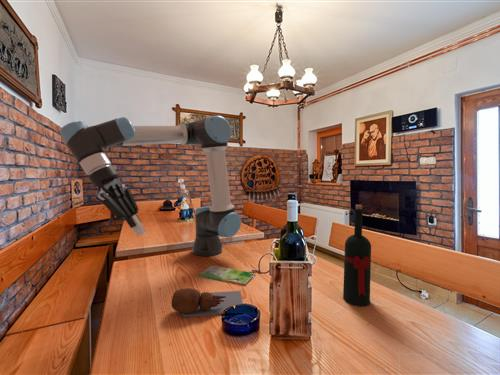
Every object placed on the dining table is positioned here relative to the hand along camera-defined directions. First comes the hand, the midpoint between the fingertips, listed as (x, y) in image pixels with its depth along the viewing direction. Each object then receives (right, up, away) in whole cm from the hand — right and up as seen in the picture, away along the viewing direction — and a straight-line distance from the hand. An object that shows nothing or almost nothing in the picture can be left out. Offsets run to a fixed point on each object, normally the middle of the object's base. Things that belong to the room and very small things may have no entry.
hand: (142, 233), depth 78 cm
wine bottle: (+68, -21, -3) cm, 71 cm away
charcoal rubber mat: (+24, -20, -5) cm, 32 cm away
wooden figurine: (+13, -17, -10) cm, 23 cm away
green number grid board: (+26, -20, +16) cm, 37 cm away
